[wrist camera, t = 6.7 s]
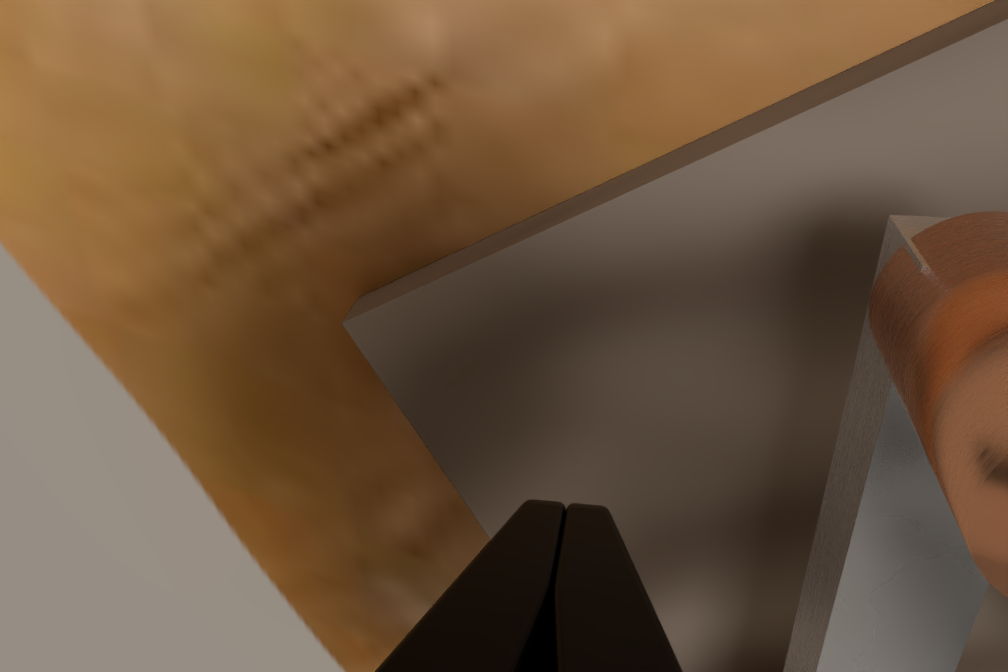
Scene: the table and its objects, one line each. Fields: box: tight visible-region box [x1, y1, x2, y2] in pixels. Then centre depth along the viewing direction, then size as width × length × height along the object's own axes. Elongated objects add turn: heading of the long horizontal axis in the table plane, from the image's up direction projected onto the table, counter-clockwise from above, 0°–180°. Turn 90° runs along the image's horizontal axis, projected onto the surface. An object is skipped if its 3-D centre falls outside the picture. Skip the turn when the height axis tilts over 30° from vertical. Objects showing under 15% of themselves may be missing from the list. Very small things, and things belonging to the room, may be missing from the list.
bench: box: [341, 0, 1008, 672], centre depth 21 cm, size 22×18×6 cm
